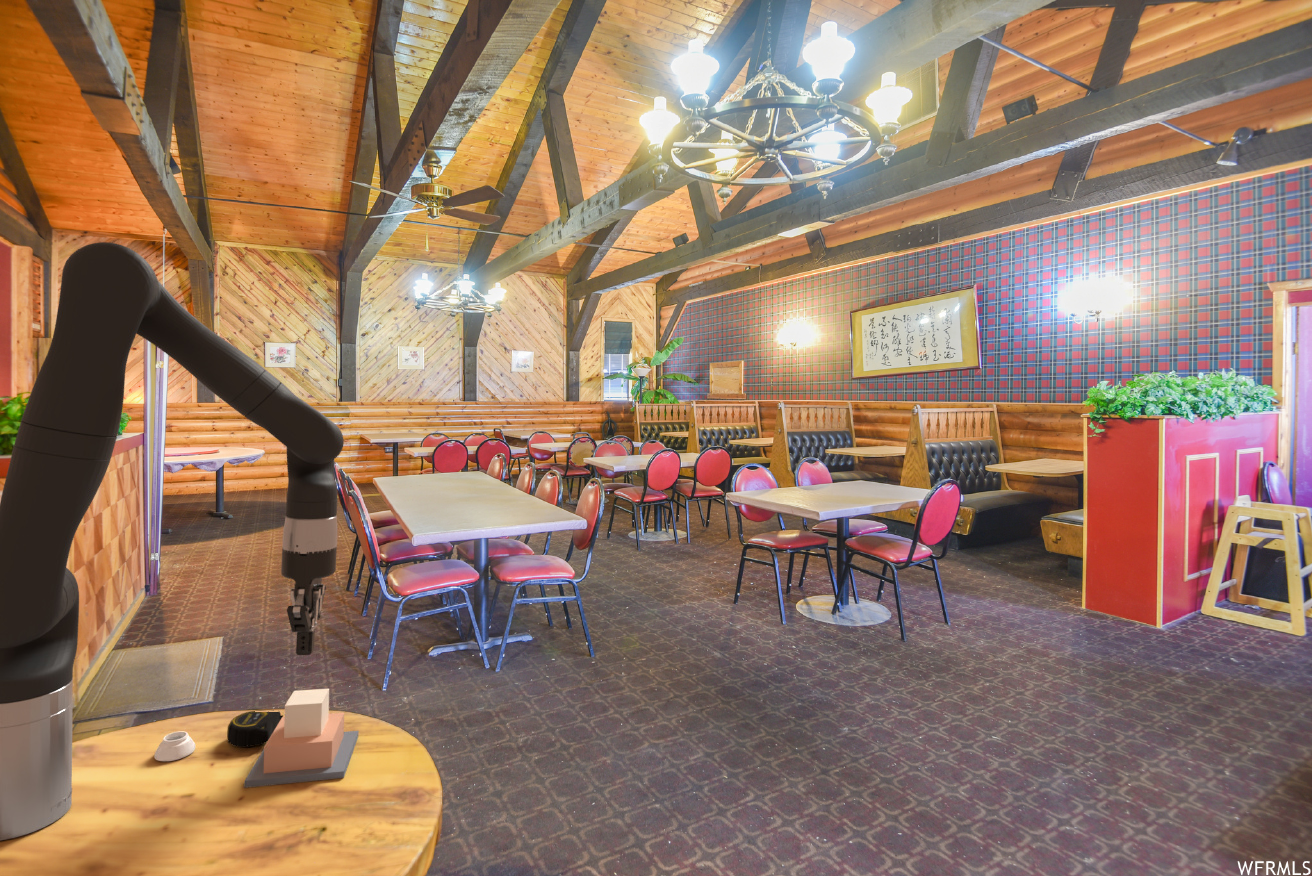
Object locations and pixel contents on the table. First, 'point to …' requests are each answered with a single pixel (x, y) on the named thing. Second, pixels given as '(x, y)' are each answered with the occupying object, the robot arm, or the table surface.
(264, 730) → the tape measure
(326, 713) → the cream block
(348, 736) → the build base
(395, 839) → the table surface
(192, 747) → the white bowl
